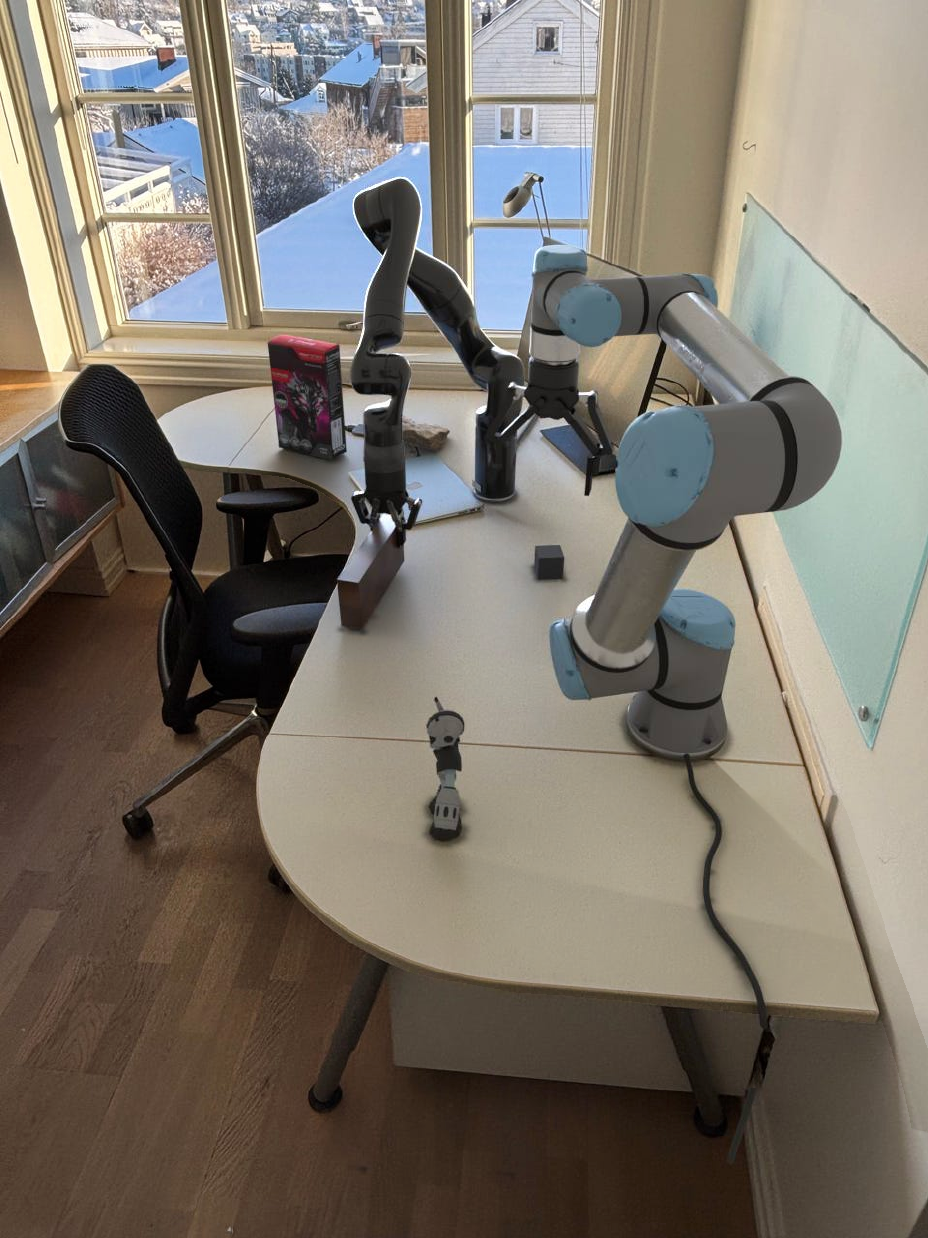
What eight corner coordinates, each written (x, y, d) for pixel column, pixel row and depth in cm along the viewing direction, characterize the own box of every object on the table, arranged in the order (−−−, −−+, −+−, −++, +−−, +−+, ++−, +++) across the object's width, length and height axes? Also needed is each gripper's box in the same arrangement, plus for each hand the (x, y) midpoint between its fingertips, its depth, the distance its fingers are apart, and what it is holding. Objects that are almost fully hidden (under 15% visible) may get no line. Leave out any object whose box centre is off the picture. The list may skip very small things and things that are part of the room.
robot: (467, 874, 119) (468, 759, 108) (429, 876, 119) (427, 760, 108) (460, 769, 135) (460, 659, 124) (426, 770, 135) (424, 660, 124)
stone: (352, 434, 231) (356, 410, 229) (373, 426, 244) (377, 403, 242) (430, 458, 227) (435, 434, 225) (447, 448, 241) (452, 426, 238)
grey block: (562, 579, 180) (564, 557, 178) (537, 580, 180) (538, 558, 177) (558, 566, 184) (560, 544, 182) (533, 567, 184) (535, 545, 181)
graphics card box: (276, 448, 231) (264, 340, 216) (293, 439, 236) (282, 332, 221) (333, 462, 225) (324, 351, 209) (349, 452, 230) (341, 343, 214)
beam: (362, 629, 164) (358, 582, 158) (341, 626, 165) (336, 579, 159) (404, 560, 183) (402, 516, 177) (385, 558, 184) (382, 513, 178)
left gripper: (428, 458, 170) (429, 540, 179) (355, 449, 173) (360, 530, 182) (415, 475, 164) (417, 559, 173) (340, 466, 167) (346, 548, 176)
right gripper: (641, 357, 137) (626, 486, 149) (479, 342, 143) (477, 468, 155) (635, 373, 131) (620, 506, 143) (466, 357, 137) (465, 487, 149)
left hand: (388, 543), depth 178 cm, fingers closed on beam, 4 cm apart
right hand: (546, 487), depth 149 cm, fingers open, 13 cm apart
